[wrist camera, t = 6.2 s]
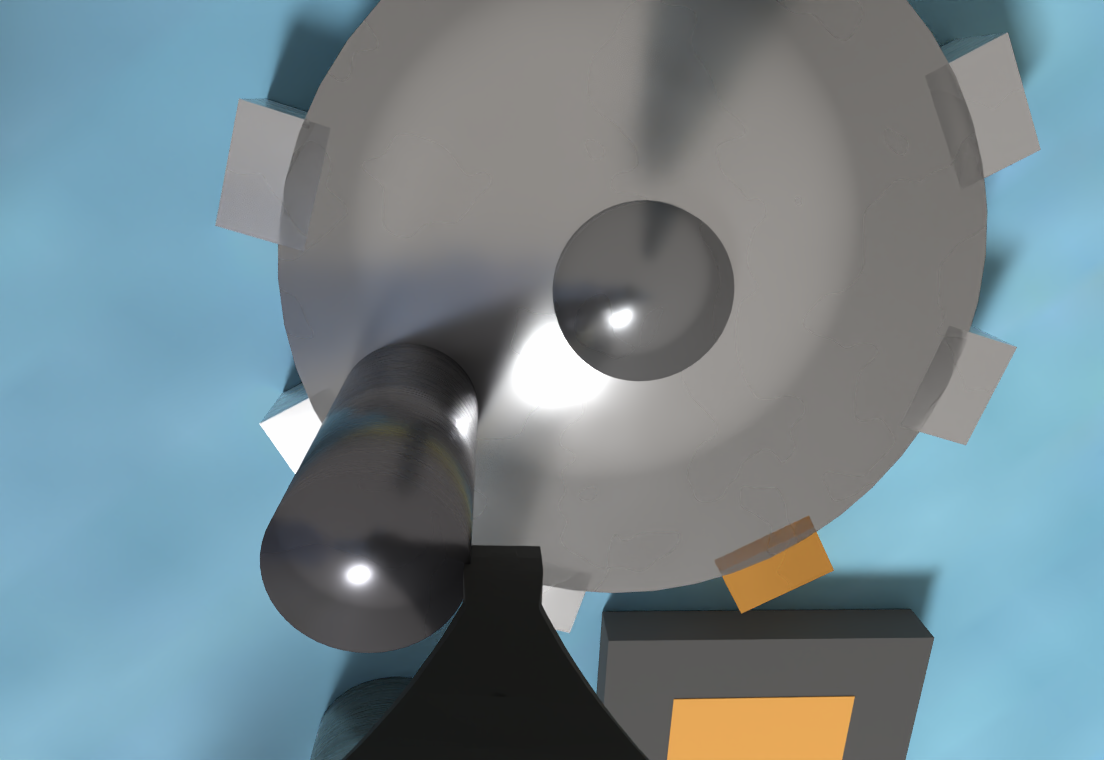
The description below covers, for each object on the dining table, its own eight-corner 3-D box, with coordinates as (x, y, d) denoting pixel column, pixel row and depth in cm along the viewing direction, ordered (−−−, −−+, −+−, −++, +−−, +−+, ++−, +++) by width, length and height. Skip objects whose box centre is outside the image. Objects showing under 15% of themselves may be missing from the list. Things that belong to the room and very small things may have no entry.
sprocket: (81, 104, 13) (-269, 108, 7) (841, -340, 12) (1199, -792, 6) (481, 684, 18) (475, 990, 12) (1067, 407, 17) (1404, 589, 10)
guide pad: (585, 852, 20) (589, 890, 19) (602, 611, 17) (608, 641, 16) (859, 843, 20) (877, 880, 19) (910, 609, 18) (934, 638, 17)
